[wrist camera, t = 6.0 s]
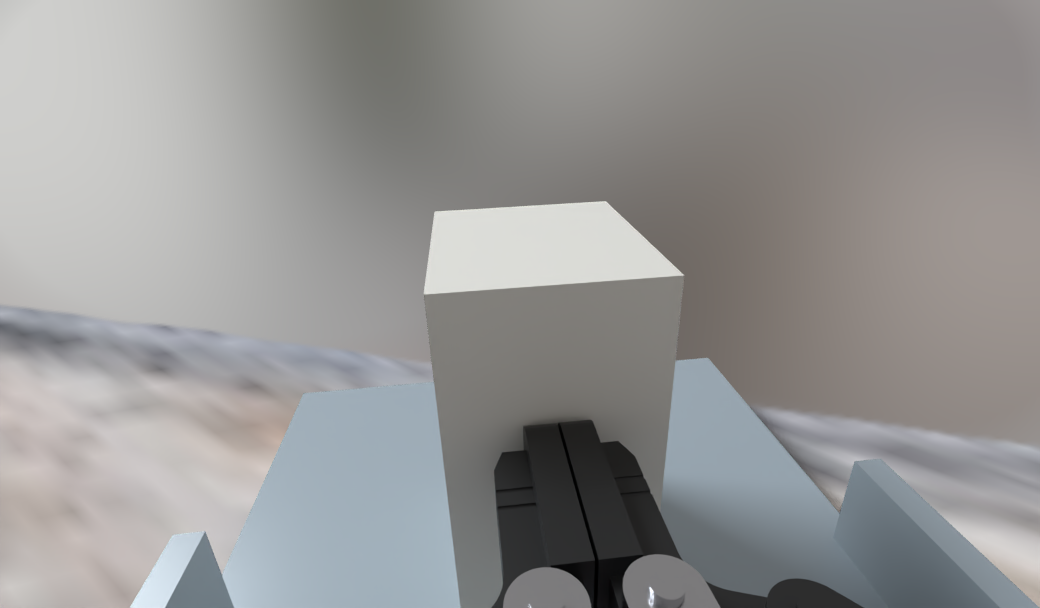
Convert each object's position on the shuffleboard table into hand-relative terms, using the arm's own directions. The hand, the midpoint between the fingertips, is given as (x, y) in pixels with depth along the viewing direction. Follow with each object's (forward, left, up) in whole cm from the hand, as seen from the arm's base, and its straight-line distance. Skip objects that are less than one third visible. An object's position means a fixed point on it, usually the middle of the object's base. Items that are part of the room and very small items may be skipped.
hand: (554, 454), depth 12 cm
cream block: (+2, +2, -6) cm, 7 cm away
